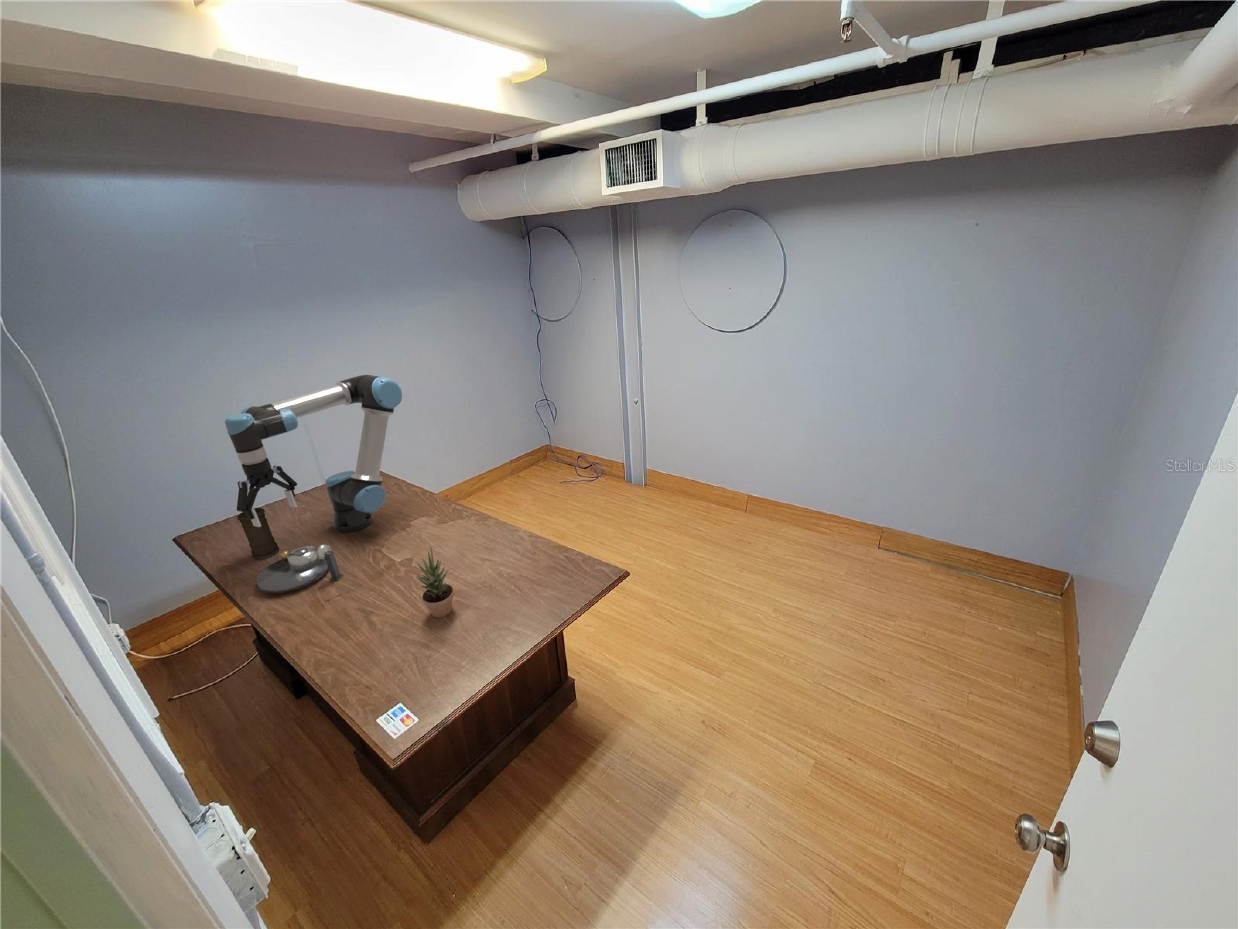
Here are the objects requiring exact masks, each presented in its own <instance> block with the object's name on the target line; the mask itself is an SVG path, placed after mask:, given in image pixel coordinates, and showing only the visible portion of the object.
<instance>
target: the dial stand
mask: <svg viewBox="0 0 1238 929" xmlns="http://www.w3.org/2000/svg"><path fill="white" fill-rule="evenodd" d="M316 550H317V557H318V558H319V559H326V562H327V565H328V568H329V569H328V571H329V574H330V578H329V581H333V582H334V581H335V582H338V581H340V580H341V579H342V577H344V574H343V573H340V569H339V566H338V562H337V560H336V557H335V553H334V551H333V550H332V548H331V546H330V545H329V544H320V545H319V546H318V547H317V548H316Z"/></svg>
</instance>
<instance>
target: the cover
mask: <svg viewBox="0 0 1238 929" xmlns="http://www.w3.org/2000/svg"><path fill="white" fill-rule="evenodd" d="M287 558H288V561H289V564H290V566H291V569H292V571H294V572H302V571H306V570H309V569H312V568H314V567H315V566H317V565H318V564H319V562H320V559H319V558H318V557H317V547H316V546H313V545H305V546H301V547H297V548H296V549H295V548H294V549H293V550H292V551H290V552H289V554H288V556H287Z"/></svg>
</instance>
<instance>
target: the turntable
mask: <svg viewBox="0 0 1238 929" xmlns="http://www.w3.org/2000/svg"><path fill="white" fill-rule="evenodd" d="M289 553H290V552H289V550H287V549H286V550H283V551H281V552H280V553H279V554H280V555H281V556H280V557H281V559H278V560H277V561H275V562H273V563H271V564H270V565H268V566H267V567H265V568H264V569H263V570H262V571H261V572H260V573H259V574H258V576H257V578H256V584H257V586H258V589H259V590H260V591H261V592H262V593H266V594H273V595H274V594H284V593H289V592H294V591H297V590H299V589H302V588H305V587H307V586H309V585H311V584H312V583H315V582H317V580H319V579H320V578H322V577H323V576H324V575H325V574H326V573H327V572H328V571H329V568H328V565H327V562H326V559H320V562H319V564H318V565H317V566H315V567H314V568H312V569H309V570H306V571H302V572H294V571H292V569H291V566H290V564H289V561H288V558H287V556H288V554H289Z"/></svg>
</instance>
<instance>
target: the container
mask: <svg viewBox="0 0 1238 929" xmlns="http://www.w3.org/2000/svg"><path fill="white" fill-rule="evenodd" d="M253 509H255V512H256V514H257V516H258V519H259V521H260V524H261V527H256V526H253V523H252V521H251V519H248V518H247V515H246V513H245V512H240V513H239V514H238V515H237V520H239V523H241V527H242V529H243V531H244V534H245V536H246V538H247V541H248V544H249V547H250V550H251V551H250V552H251V556H252V558H253V559H254V560H265V559H269V558H271V557H273V556H275V555H276V554H277V553H278V552H279V551H280V546H279V545H278V543H277V542H276V541H275V537H274V536H273V533H272V531H271V528H270V525H269V523H268V521H267V520H268V519H267V518H266V511H265V509H264V508H261V507H255V508H253Z"/></svg>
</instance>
